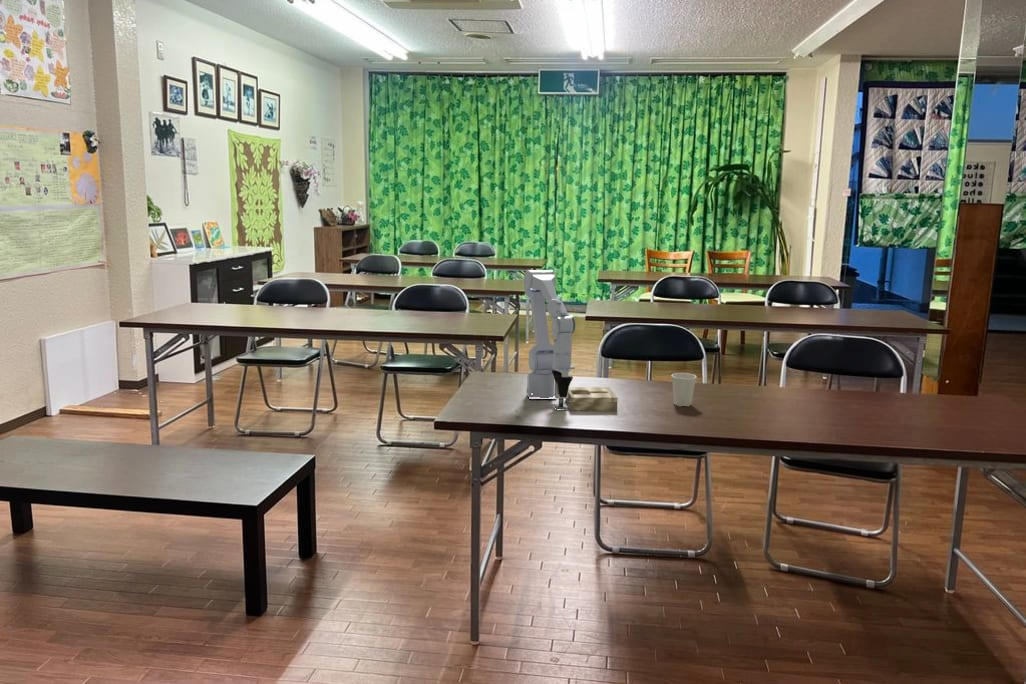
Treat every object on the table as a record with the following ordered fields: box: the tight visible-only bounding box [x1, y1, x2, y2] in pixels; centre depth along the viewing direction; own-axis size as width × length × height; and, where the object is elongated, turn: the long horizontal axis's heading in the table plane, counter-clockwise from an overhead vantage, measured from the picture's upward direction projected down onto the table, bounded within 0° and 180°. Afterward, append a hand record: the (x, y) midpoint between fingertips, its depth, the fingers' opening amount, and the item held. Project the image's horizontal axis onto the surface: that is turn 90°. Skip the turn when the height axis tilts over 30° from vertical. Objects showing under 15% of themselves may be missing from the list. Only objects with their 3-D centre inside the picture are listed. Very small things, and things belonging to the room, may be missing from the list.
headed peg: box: [553, 380, 569, 410], centre depth 253 cm, size 4×4×9 cm
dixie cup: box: [671, 372, 698, 407], centre depth 261 cm, size 8×8×10 cm
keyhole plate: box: [564, 386, 619, 412], centre depth 258 cm, size 15×14×4 cm
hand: (561, 394), depth 253 cm, fingers open, 7 cm apart
